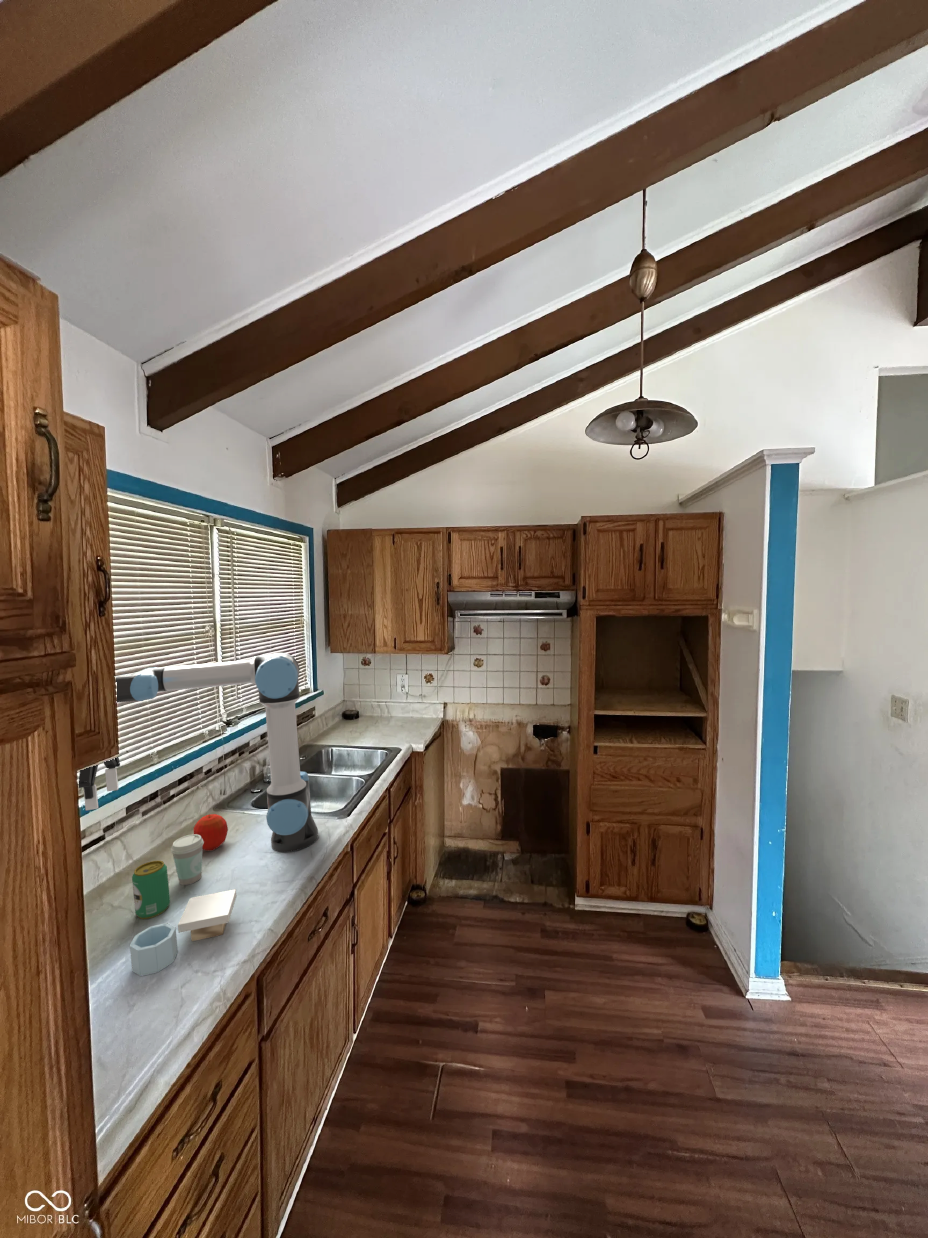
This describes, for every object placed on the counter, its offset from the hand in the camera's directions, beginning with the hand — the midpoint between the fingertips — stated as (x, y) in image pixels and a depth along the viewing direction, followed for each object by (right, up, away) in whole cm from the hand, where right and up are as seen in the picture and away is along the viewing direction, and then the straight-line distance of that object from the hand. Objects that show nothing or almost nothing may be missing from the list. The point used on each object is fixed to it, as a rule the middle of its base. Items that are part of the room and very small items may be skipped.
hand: (103, 799), depth 142 cm
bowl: (+31, -28, -26) cm, 49 cm away
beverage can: (+19, -28, -7) cm, 34 cm away
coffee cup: (+21, -27, +7) cm, 35 cm away
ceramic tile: (+38, -23, -16) cm, 48 cm away
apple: (+18, -26, +26) cm, 41 cm away
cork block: (+39, -27, -16) cm, 50 cm away
